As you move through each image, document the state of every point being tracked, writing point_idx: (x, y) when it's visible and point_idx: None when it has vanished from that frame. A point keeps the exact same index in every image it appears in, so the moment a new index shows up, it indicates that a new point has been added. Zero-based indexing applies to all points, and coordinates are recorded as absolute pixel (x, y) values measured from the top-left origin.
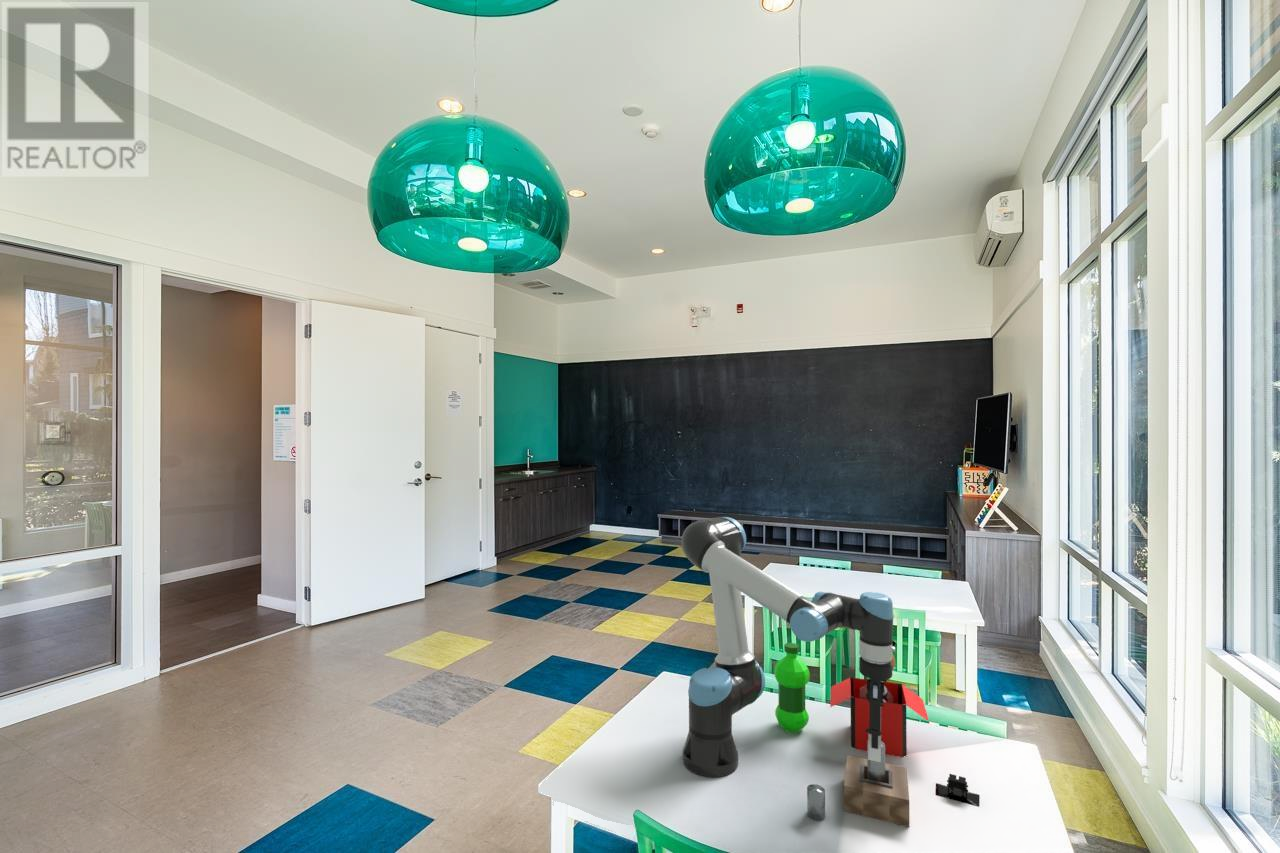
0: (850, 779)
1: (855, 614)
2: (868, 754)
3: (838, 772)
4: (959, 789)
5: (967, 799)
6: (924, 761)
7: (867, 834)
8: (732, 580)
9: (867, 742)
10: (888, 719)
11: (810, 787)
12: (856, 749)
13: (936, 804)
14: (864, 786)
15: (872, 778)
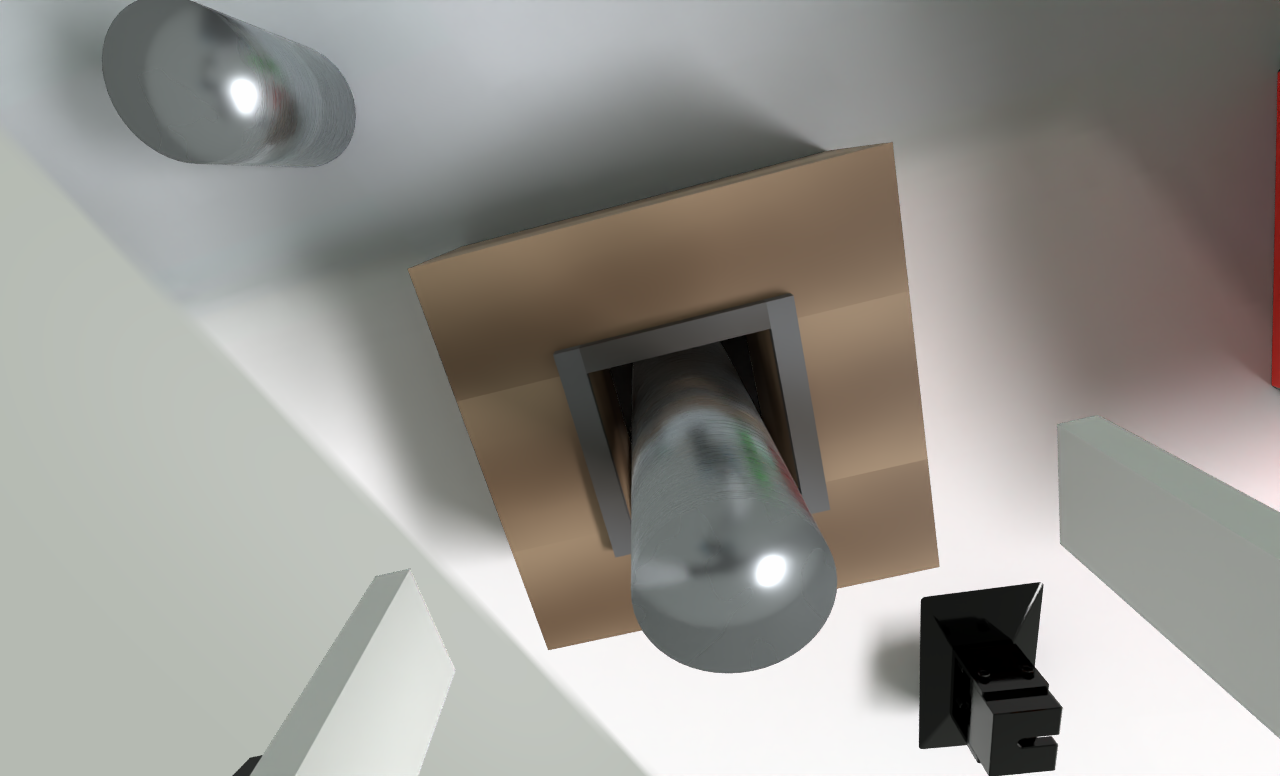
0: (526, 284)
1: None
2: (348, 619)
3: (878, 65)
4: (970, 720)
5: (947, 716)
6: (1265, 497)
7: (359, 409)
8: None
9: (694, 508)
10: None
11: (166, 25)
12: (1277, 81)
13: (836, 614)
14: (508, 396)
15: (632, 424)
